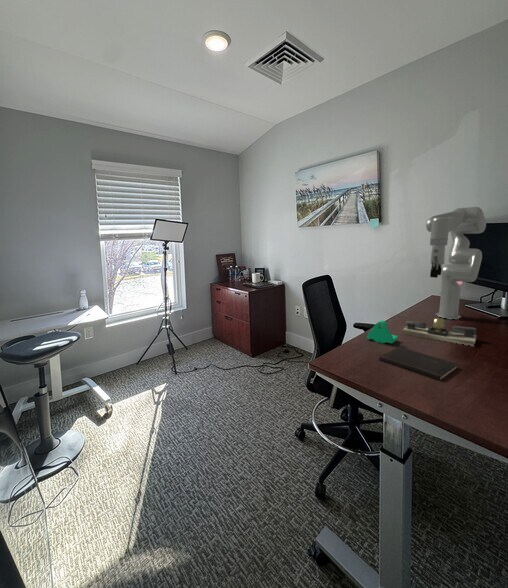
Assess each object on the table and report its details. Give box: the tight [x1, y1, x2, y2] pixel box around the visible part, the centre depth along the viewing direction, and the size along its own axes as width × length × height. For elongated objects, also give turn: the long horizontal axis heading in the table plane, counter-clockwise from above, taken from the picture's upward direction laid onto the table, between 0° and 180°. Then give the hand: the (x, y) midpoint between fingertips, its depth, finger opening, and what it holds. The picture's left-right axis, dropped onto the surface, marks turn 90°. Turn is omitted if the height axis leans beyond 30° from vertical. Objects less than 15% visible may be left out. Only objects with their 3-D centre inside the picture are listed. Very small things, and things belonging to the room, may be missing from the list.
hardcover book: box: [378, 346, 459, 381], centre depth 119 cm, size 16×23×2 cm
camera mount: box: [366, 320, 398, 344], centre depth 144 cm, size 12×8×10 cm, turn 48°
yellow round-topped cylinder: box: [432, 317, 446, 332], centre depth 147 cm, size 5×4×7 cm
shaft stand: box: [401, 319, 477, 347], centre depth 148 cm, size 11×30×6 cm, turn 50°
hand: (435, 276), depth 155 cm, fingers open, 9 cm apart
